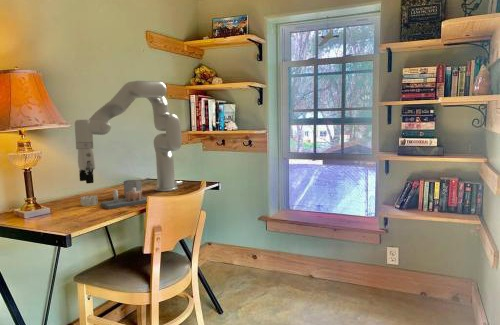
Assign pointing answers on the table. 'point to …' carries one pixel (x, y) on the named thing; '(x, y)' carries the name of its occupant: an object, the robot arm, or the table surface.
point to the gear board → (125, 199)
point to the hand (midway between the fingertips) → (86, 181)
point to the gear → (89, 200)
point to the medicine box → (132, 185)
